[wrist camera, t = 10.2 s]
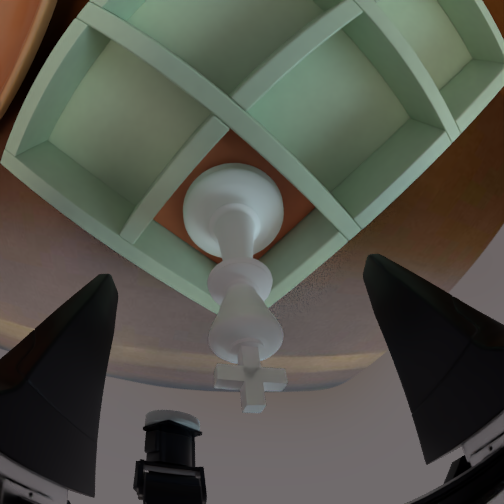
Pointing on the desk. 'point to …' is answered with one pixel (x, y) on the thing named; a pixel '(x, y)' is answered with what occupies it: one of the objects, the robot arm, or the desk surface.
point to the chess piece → (239, 274)
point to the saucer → (20, 42)
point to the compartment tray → (249, 117)
